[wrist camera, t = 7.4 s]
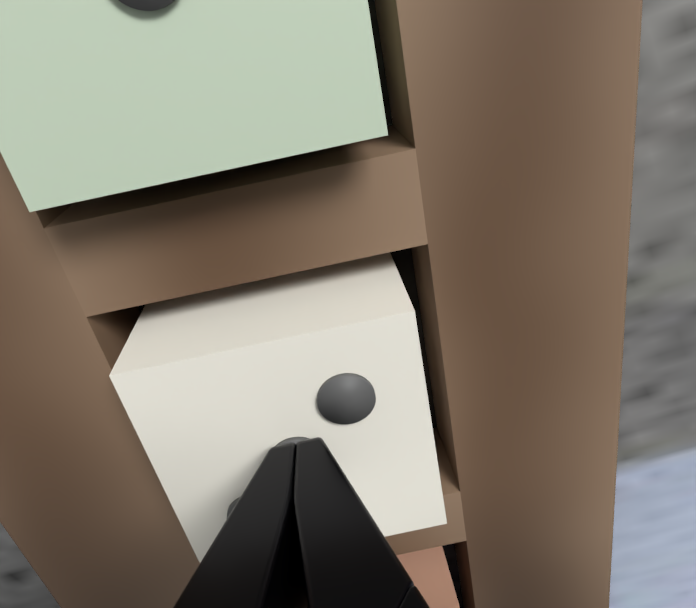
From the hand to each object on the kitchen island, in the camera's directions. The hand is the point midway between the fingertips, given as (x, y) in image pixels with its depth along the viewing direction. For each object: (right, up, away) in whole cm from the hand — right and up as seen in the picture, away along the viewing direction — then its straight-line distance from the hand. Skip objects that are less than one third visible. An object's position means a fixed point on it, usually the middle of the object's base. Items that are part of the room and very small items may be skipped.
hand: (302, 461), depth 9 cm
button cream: (0, +1, +3) cm, 3 cm away
